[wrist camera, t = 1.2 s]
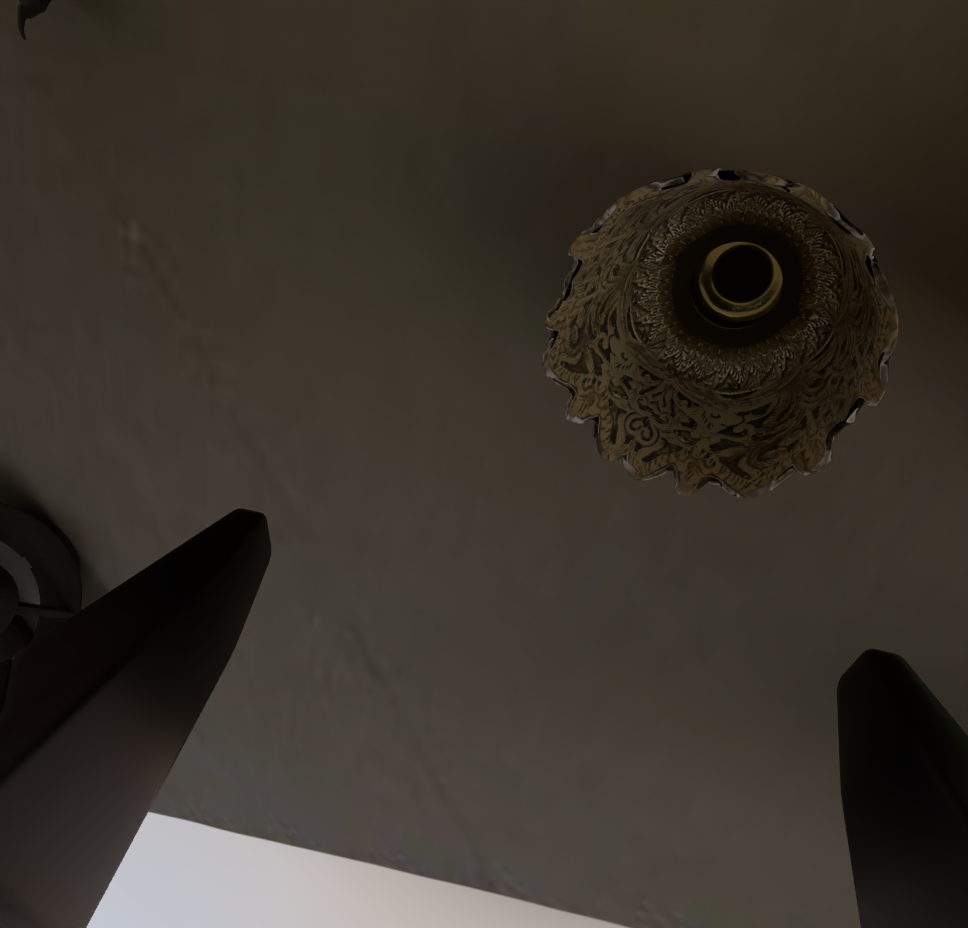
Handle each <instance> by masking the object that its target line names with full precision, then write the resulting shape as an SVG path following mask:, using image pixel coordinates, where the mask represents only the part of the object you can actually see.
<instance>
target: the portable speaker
mask: <svg viewBox="0 0 968 928" xmlns="http://www.w3.org/2000/svg"><path fill="white" fill-rule="evenodd" d="M33 636H34V635H33V634H32V632H31V631H30V630H29V628H28V627H27V625H26V624H25V623H24V621H23V620H22V619H21V617H20V616H18V615H15V616H14V617H13V619H12V621H11V622H10V624H9V625H8V626H7V628H6V629H5V630H4V631H3V632H2V633H1V634H0V663H1V662H3V661H4V660H6V659H8V658H11V659H12V658H13V655H14V654H15V653H17V652H18V651H20V650H21V649H23V648H24V647H26V646H27V645H29V644H30V642H31V640H32V638H33Z"/></svg>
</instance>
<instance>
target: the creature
mask: <svg viewBox="0 0 968 928" xmlns="http://www.w3.org/2000/svg"><path fill="white" fill-rule="evenodd" d="M19 1H20V2H21V4H19V6H18V27H19V31H20V34H21V36H22V38H23V39H24V40H26V38H25V34H24V25H25V20H26V19H27V18H30V19H31V18H33V17H35V16H36V15H38V14H40V13H42V12H45V10H46V9H47V6H48V4H49V3H50V1H51V0H19Z"/></svg>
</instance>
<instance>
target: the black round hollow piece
mask: <svg viewBox="0 0 968 928" xmlns="http://www.w3.org/2000/svg"><path fill="white" fill-rule="evenodd" d="M0 541H2V542H3V543H5V544H7V545H8V546H9V547H11V548H12V549H13V550H14V551H16V552H17V553H18V554H19V555H20V556H21V557H25V558H26V559H27V561H28V562H29V563H30V565H31V566H32V568H31V571H32V573H33V574H34V576H35V579H36V582H37V585H38V588H39V593H40V605H36V604H30V603H23V602H19V596H18V588H17V586H16V583H15V581H14V579H13V578H12V576H11V575H10V574H9V573H8V572H7V571H6V570H5V569H4V568H3V567H1V566H0V634H1V633H2V632H3V631H4V630H5V629H6V628H7V626H8V625H9V624H10V622H11V621H12V619H13V617H14V616H15V615H18V616H34V617H39V621H38V625H37V629H36V631H35V634H34V636H33V638H32V640H31V642H30V643H32V642H34V641H35V640H37V639H38V638H40V637H41V636H43V635H44V634H46V633H47V632H49V631H50V630H52V629H53V628H55V627H56V626H58V625H60V624H61V623H63V622H64V621H66V620H67V619H69V618H70V617H72V616H73V615H75V614H76V613H78V612H79V611H81V605H82V584H81V578H80V574H79V570H78V565H79V560H78V556H77V553H76V551H75V549H74V547H73V545H72V544H71V542H70V541H69V540H68V538H67V537H66V536H65V535H64V534H63V533H62V532H61V531H60V530H59V529H58V528H56V527H55V526H53V525H51V524H49V523H46V522H42V521H41V520H39V519H38V518H36V517H34V516H33V515H31V514H29V513H27V512H25V511H23V510H20V509H18V508H15V507H13V506H10V505H6V504H3V503H0Z"/></svg>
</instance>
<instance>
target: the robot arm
mask: <svg viewBox="0 0 968 928" xmlns="http://www.w3.org/2000/svg"><path fill="white" fill-rule="evenodd" d="M270 557H271V543H270V536H269V530H268V524H267V519H266V517H265V515H264V514H263V513H260V512H256V511H251V510H247V509H236V510H234V511H232V512H231V513H229V514H228V515H226V516H225V517H223V518H221V519H220V520H218V521H217V522H215V523H214V524H212V525H211V526H209V527H208V528H206V529H205V530H203V531H202V532H200V533H199V534H197V535H196V536H194V537H192V538H191V539H189V540H188V541H186V542H185V543H183V544H182V545H180V546H179V547H177V548H176V549H174V550H173V551H171V552H170V553H168V554H166V555H165V556H163V557H162V558H160V559H159V560H157V561H156V562H154V563H153V564H151V565H150V566H148V567H147V568H145V569H144V570H142V571H140V572H139V573H137V574H136V575H134V576H133V577H131V578H130V579H128V580H127V581H125V582H124V583H122V584H121V585H119V586H118V587H116V588H115V589H113V590H111V591H110V592H108V593H107V594H105V595H104V596H102V597H101V598H99V599H98V600H96V601H95V602H93V603H92V604H90V605H89V606H87V607H85V608H84V609H82V610H81V611H79V612H78V613H76V614H75V615H73V616H72V617H70V618H69V619H67V620H66V621H64V622H63V623H61V624H60V625H58V626H56V627H55V628H53V629H52V630H50V631H49V632H47V633H46V634H44V635H43V636H41V637H40V638H38V639H37V640H35V641H34V642H32V643H30V644H29V645H27V646H26V647H24V648H23V649H21V650H20V651H18V652H17V653H15V654H14V655H13V658H12V659H11V658H8V659H6V660H4V661H3V662H1V663H0V928H86V927H87V925H88V923H89V921H90V920H91V918H92V916H93V914H94V911H95V910H96V908H97V906H98V905H99V902H100V901H101V899H102V897H103V895H104V893H105V891H106V890H107V888H108V886H109V884H110V882H111V880H112V878H113V876H114V875H115V873H116V871H117V869H118V867H119V865H120V863H121V861H122V860H123V858H124V856H125V854H126V852H127V850H128V848H129V847H130V845H131V843H132V841H133V839H134V837H135V835H136V833H137V832H138V830H139V828H140V826H141V824H142V822H143V820H144V818H145V816H146V815H147V813H148V811H149V809H150V807H151V805H152V803H153V802H154V800H155V798H156V796H157V794H158V792H159V790H160V788H161V787H162V785H163V783H164V781H165V779H166V777H167V775H168V773H169V772H170V770H171V768H172V766H173V764H174V762H175V760H176V759H177V757H178V755H179V753H180V751H181V749H182V747H183V745H184V744H185V742H186V740H187V738H188V736H189V734H190V732H191V730H192V729H193V727H194V725H195V723H196V721H197V719H198V717H199V715H200V714H201V712H202V710H203V708H204V706H205V704H206V702H207V700H208V699H209V697H210V695H211V693H212V691H213V689H214V687H215V685H216V684H217V682H218V680H219V678H220V676H221V674H222V672H223V671H224V669H225V667H226V665H227V663H228V661H229V659H230V657H231V655H232V653H233V651H234V649H235V646H236V644H237V642H238V639H239V637H240V634H241V632H242V629H243V627H244V624H245V622H246V619H247V617H248V614H249V612H250V609H251V607H252V604H253V602H254V599H255V597H256V594H257V591H258V589H259V586H260V584H261V581H262V579H263V576H264V574H265V571H266V569H267V566H268V564H269V561H270ZM837 706H838V733H839V760H840V782H841V796H842V804H843V812H844V818H845V825H846V831H847V838H848V844H849V851H850V858H851V864H852V871H853V877H854V884H855V891H856V897H857V904H858V910H859V917H860V924H861V928H968V736H967V735H966V733H965V732H964V731H963V730H962V729H961V727H960V726H959V725H958V724H957V723H956V721H955V720H954V719H953V718H952V717H951V715H950V714H949V713H948V712H947V710H946V709H945V708H944V707H943V706H942V704H941V703H940V702H939V701H938V700H937V698H936V697H935V696H934V695H933V693H932V692H931V691H930V690H929V689H928V687H927V686H926V685H925V684H924V683H923V681H922V680H921V679H920V678H919V677H918V675H917V674H916V673H915V672H914V670H913V669H912V668H911V667H910V666H909V664H908V663H907V662H906V661H905V660H904V659H903V658H902V657H901V656H899V655H897V654H894V653H890V652H886V651H881V650H877V649H869V650H866V651H864V652H863V653H862V654H861V655H860V656H859V658H858V659H857V660H856V661H855V662H854V663H853V664H852V665H851V666H850V667H849V668H848V670H847V671H846V672H845V673H844V674H843V675H842V676H841V678H840V680H839V683H838V688H837Z"/></svg>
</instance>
